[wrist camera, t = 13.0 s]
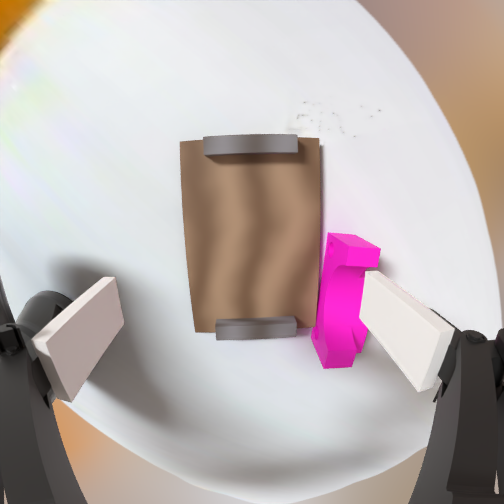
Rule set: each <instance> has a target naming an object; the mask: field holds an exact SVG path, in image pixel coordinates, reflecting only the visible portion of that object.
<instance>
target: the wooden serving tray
mask: <svg viewBox="0 0 504 504" xmlns="http://www.w3.org/2000/svg"><path fill="white" fill-rule="evenodd" d="M180 166H181V189H182V207H183V222H184V235H185V247H186V258H187V268H188V278H189V287H190V295H191V304H192V312H193V319H194V326H195V332H216V340H247V339H268V338H283V337H296V329H297V328H309V327H315V325H316V312H317V297H318V279H319V256H320V148H319V138H301V137H297V135H294V134H250V135H224V136H208V137H203V140H194V141H183V142H180Z"/></svg>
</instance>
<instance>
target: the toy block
mask: <svg viewBox="0 0 504 504" xmlns="http://www.w3.org/2000/svg"><path fill="white" fill-rule="evenodd" d="M380 250H381V249H380V248H378V247H377V246H375V245H373V244H371V243H369V242H367V241H366V240H364V239H362V238H360V237H358V236H356V235H351V234H340V233H328V235H327V243H326V251H325V258H324V265H323V271H322V278H321V284H320V290H319V296H318V302H317V312H316V325H315V327H313V329H312V334H311V339H312V342H313V344H314V347H315V349H316V351H317V354H318V356H319V359H320V361H321V364H322V366H323V369H329V368H345V367H352V365H353V361H354V358H355V355H356V353H361V351H362V348H363V345H364V341H365V338H366V335H367V331H368V328H367V327H366V325H365V324H364V323H363V322H362V321H361V319H360V318H359V315H360V309H361V302H362V295H363V288H364V280H365V272H366V269H367V268H369V267H378V261H379V256H380Z"/></svg>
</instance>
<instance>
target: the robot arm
mask: <svg viewBox="0 0 504 504" xmlns="http://www.w3.org/2000/svg"><path fill="white" fill-rule="evenodd" d="M359 318H360V319H361V321H362V322H363V323H364V324H365V325H366V327H367V328H368V329H369V330H370V332H371V333H372V334H373V335H374V337H375V338H376V339H377V340H378V341H379V343H380V344H381V345H382V346H383V348H384V349H385V350H386V351H387V353H388V354H389V355H390V357H391V358H392V359H393V360H394V362H395V363H396V364H397V365H398V367H399V368H400V369H401V371H402V372H403V373H404V374H405V376H406V377H407V378H408V380H409V381H410V382H411V384H412V385H413V386H414V388H415V389H416V390H417V391H418V392H422V391H425V390H428V389H430V388H433V386H434V383H435V381H436V379H437V376H439V377H440V379H441V380H442V383H441V385H440V388H439V390H438V392H437V394H436V396H435V398H434V400H433V402H435V401H436V399H437V405H436V411H435V416H434V421H433V426H432V430H431V435H430V439H429V443H428V447H427V450H426V454H425V457H424V461H423V464H422V467H421V471H420V474H419V477H418V480H417V482H416V485H415V488H414V491H413V493H412V496H411V498H410V501H409V503H408V504H504V328H503V329H500V330H499V331H498V334H497V337H496V340H487V338H486V337H485V336H484V335H483V334H481V333H479V332H477V331H474V330H466V331H463V332H461V331H460V330H459V329H457V328H456V327H455V326H454V325H452V324H451V323H450V322H449V321H447V320H446V319H445V318H443V317H442V316H440V314H438V313H437V312H436V311H434V310H432V309H430V308H428V307H427V306H425V305H424V304H423V303H421V302H420V301H419V300H417V299H416V298H415V297H413V296H412V295H411V294H409V293H408V292H407V291H405V290H404V289H402V288H401V287H400V286H398V285H397V284H396V283H394V282H393V281H391V280H390V279H389V278H387V277H386V276H384V275H383V274H382V273H380V272H379V271H366V272H365V280H364V288H363V295H362V302H361V309H360V315H359ZM123 325H124V319H123V314H122V309H121V304H120V299H119V294H118V288H117V282H116V277H103V278H102V279H100V280H99V281H98V282H97V283H95V284H94V285H93V286H92V287H90V288H89V289H88V290H87V291H86V292H84V293H83V294H82V295H81V296H80V297H78V298H77V299H76V300H75V301H74V302H72V301H71V300H69V299H68V298H66V297H65V296H63V295H61V294H59V293H57V292H54V291H42V292H39V293H38V294H36V295H35V296H33V297H32V298H31V299H30V300H29V301H28V302H27V303H26V305H25V307H24V309H23V310H22V312H21V314H20V315H19V317H18V319H17V321H16V323H15V320H14V318H13V315H12V312H11V310H10V307H9V304H8V301H7V298H6V294H5V291H4V288H3V284H2V281H1V277H0V504H4V490H5V494H6V498H7V502H8V504H87V502H86V500H85V497H84V495H83V493H82V491H81V489H80V487H79V484H78V482H77V480H76V477H75V475H74V473H73V470H72V467H71V465H70V463H69V460H68V457H67V454H66V451H65V448H64V445H63V442H62V439H61V436H60V433H59V429H58V426H57V422H56V419H55V415H54V411H53V406H52V403H53V402H54V400H55V399H56V397H57V399H61V400H64V401H68V402H72V401H73V400H74V398H75V396H76V395H77V393H78V392H79V390H80V388H81V387H82V385H83V384H84V382H85V381H86V379H87V378H88V376H89V375H90V373H91V371H92V370H93V368H94V367H95V365H96V364H97V362H98V361H99V359H100V358H101V356H102V355H103V354H104V352H105V351H106V349H107V348H108V346H109V345H110V343H111V342H112V340H113V339H114V338H115V336H116V335H117V333H118V332H119V331H120V329H121V328H122V326H123ZM496 470H497V477H498V487H499V494H495V492H494V486H495V478H496Z"/></svg>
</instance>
